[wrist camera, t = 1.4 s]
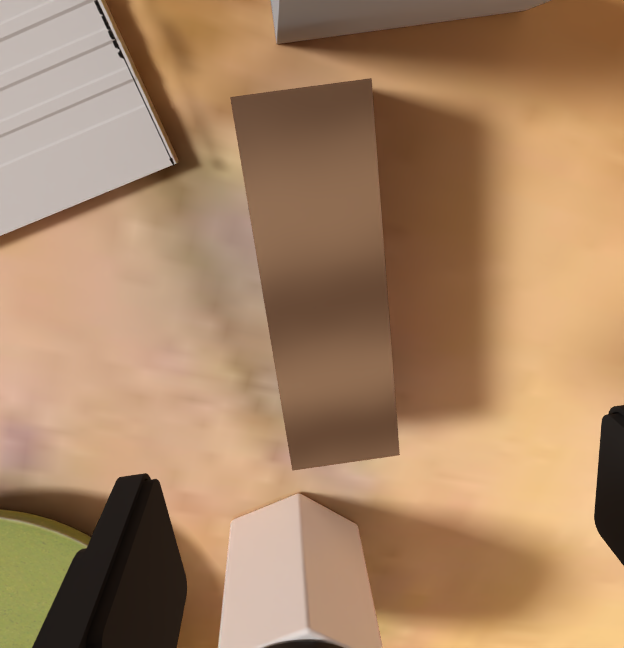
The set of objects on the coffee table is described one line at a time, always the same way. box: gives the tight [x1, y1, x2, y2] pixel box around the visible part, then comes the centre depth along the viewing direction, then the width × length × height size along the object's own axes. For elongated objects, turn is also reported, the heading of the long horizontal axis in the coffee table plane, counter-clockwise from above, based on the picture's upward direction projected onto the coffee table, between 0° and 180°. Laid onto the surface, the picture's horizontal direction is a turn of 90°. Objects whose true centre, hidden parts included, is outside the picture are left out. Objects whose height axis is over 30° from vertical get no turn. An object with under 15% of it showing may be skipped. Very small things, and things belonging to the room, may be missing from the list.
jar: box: [218, 493, 383, 648], centre depth 29 cm, size 9×8×12 cm
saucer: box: [0, 510, 91, 648], centre depth 33 cm, size 21×21×3 cm
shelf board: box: [230, 79, 400, 470], centre depth 25 cm, size 16×5×6 cm, turn 7°
